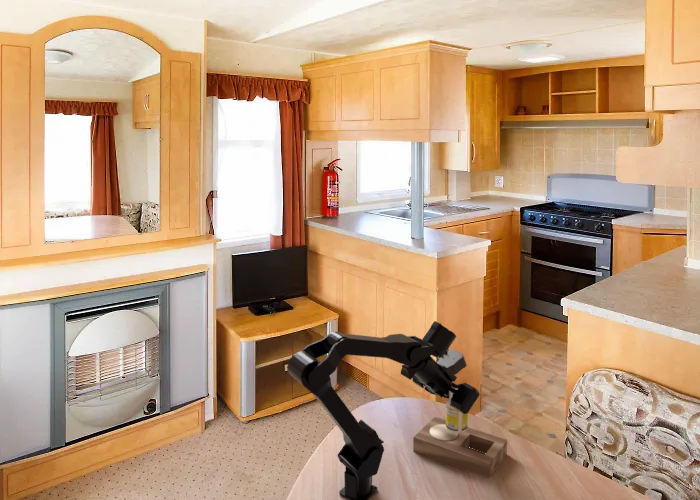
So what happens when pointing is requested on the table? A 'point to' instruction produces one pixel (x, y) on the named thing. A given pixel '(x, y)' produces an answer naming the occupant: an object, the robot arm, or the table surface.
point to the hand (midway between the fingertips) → (461, 402)
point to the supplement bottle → (455, 418)
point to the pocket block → (461, 447)
